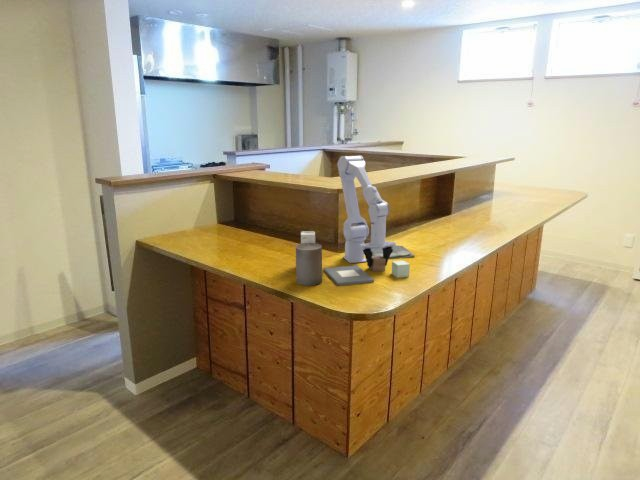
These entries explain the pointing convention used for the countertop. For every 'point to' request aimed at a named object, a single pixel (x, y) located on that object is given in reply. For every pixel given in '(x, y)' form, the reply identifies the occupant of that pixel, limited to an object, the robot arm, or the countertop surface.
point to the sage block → (400, 268)
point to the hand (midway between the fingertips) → (377, 265)
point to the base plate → (348, 275)
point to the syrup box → (307, 237)
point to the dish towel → (394, 252)
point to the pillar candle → (309, 264)
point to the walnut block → (377, 263)
